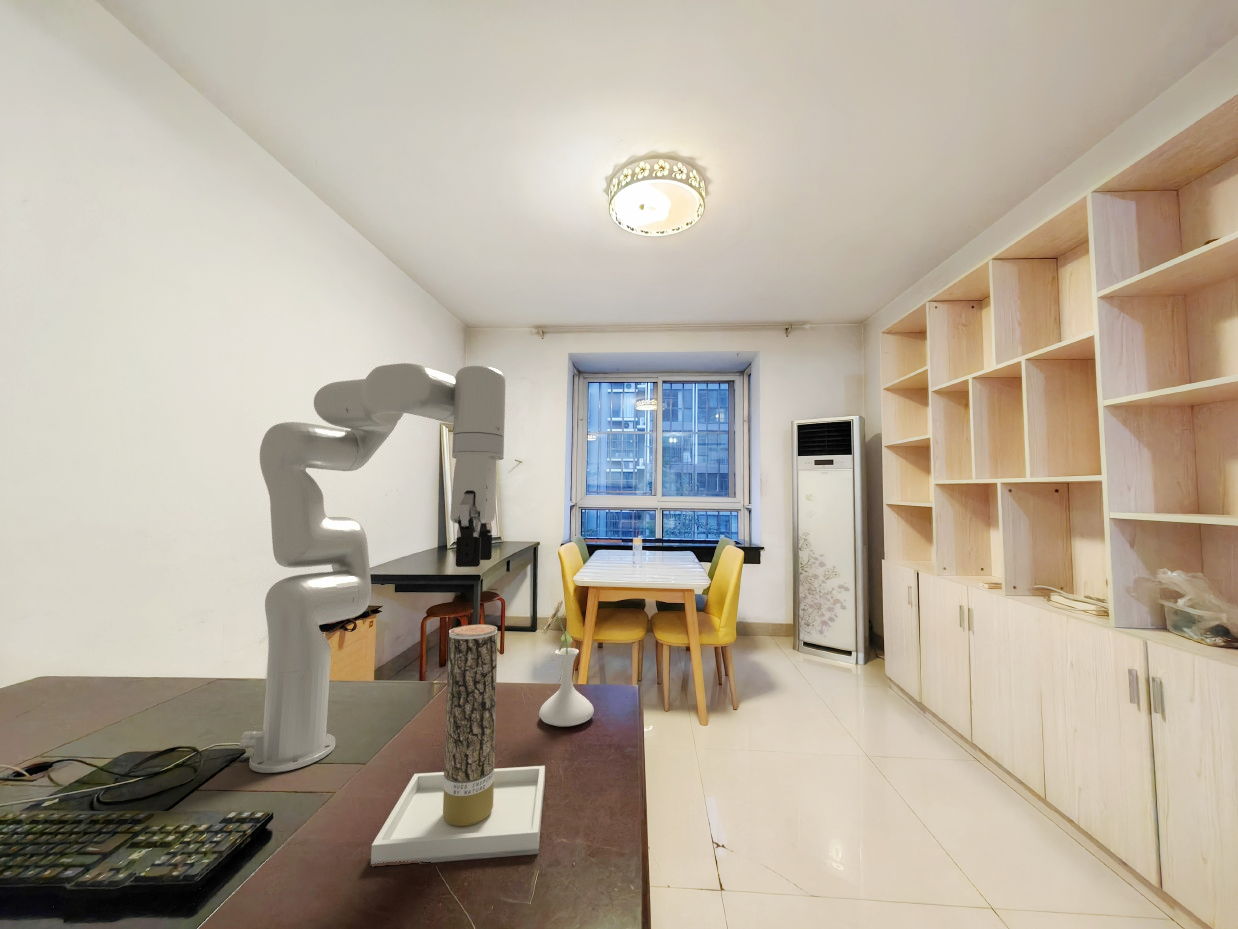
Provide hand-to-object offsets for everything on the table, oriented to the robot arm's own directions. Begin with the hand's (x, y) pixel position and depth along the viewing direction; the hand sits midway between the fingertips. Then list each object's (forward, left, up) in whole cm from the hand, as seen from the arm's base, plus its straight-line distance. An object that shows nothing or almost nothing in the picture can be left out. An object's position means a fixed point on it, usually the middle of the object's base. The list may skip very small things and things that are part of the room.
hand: (474, 563), depth 70 cm
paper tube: (0, 0, -35) cm, 35 cm away
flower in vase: (+13, +30, -36) cm, 48 cm away
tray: (0, 0, -35) cm, 35 cm away
